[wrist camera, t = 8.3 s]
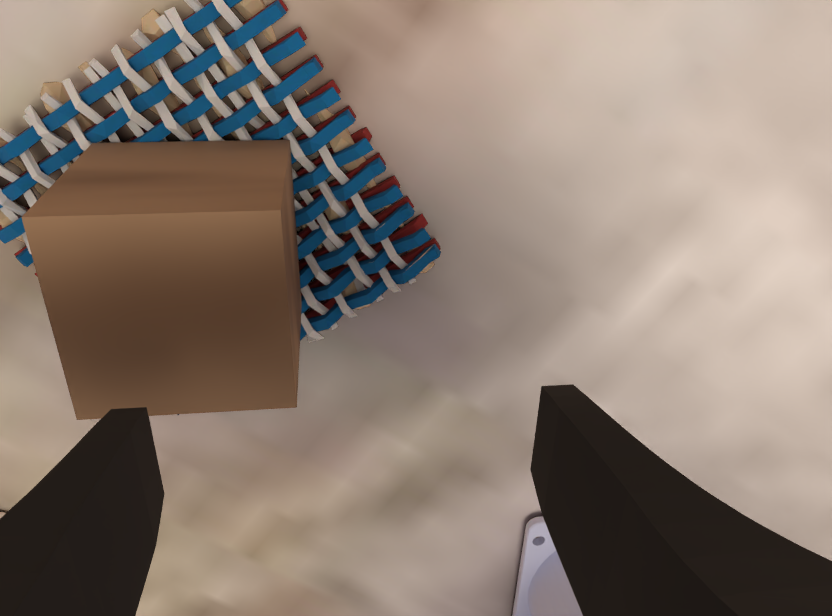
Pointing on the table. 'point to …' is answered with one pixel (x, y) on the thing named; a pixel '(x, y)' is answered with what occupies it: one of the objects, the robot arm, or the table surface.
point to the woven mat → (350, 275)
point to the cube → (173, 276)
